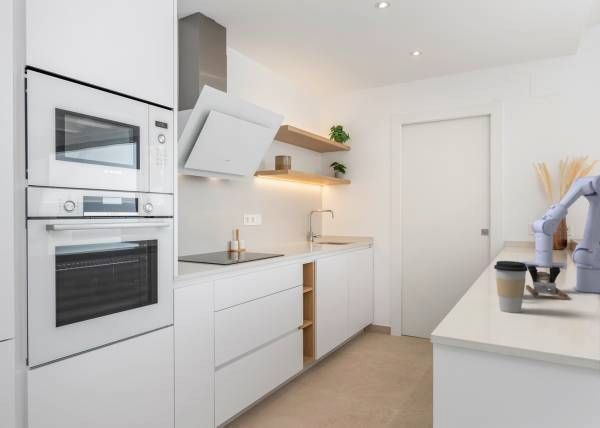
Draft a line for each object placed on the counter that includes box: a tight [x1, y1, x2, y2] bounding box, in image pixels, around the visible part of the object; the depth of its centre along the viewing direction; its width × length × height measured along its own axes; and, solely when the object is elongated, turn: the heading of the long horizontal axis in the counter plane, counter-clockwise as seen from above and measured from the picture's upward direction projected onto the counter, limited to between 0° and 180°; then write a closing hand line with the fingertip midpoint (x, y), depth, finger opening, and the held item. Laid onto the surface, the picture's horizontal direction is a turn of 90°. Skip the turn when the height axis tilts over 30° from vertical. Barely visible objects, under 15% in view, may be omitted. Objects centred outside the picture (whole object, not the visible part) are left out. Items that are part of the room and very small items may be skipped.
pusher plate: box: [533, 282, 557, 295], centre depth 148 cm, size 7×8×4 cm
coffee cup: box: [493, 260, 529, 314], centre depth 126 cm, size 9×9×15 cm
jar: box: [537, 271, 551, 283], centre depth 155 cm, size 5×5×6 cm
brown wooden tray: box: [525, 284, 570, 301], centre depth 150 cm, size 10×16×2 cm, turn 162°
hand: (543, 286), depth 153 cm, fingers closed on jar, 5 cm apart
